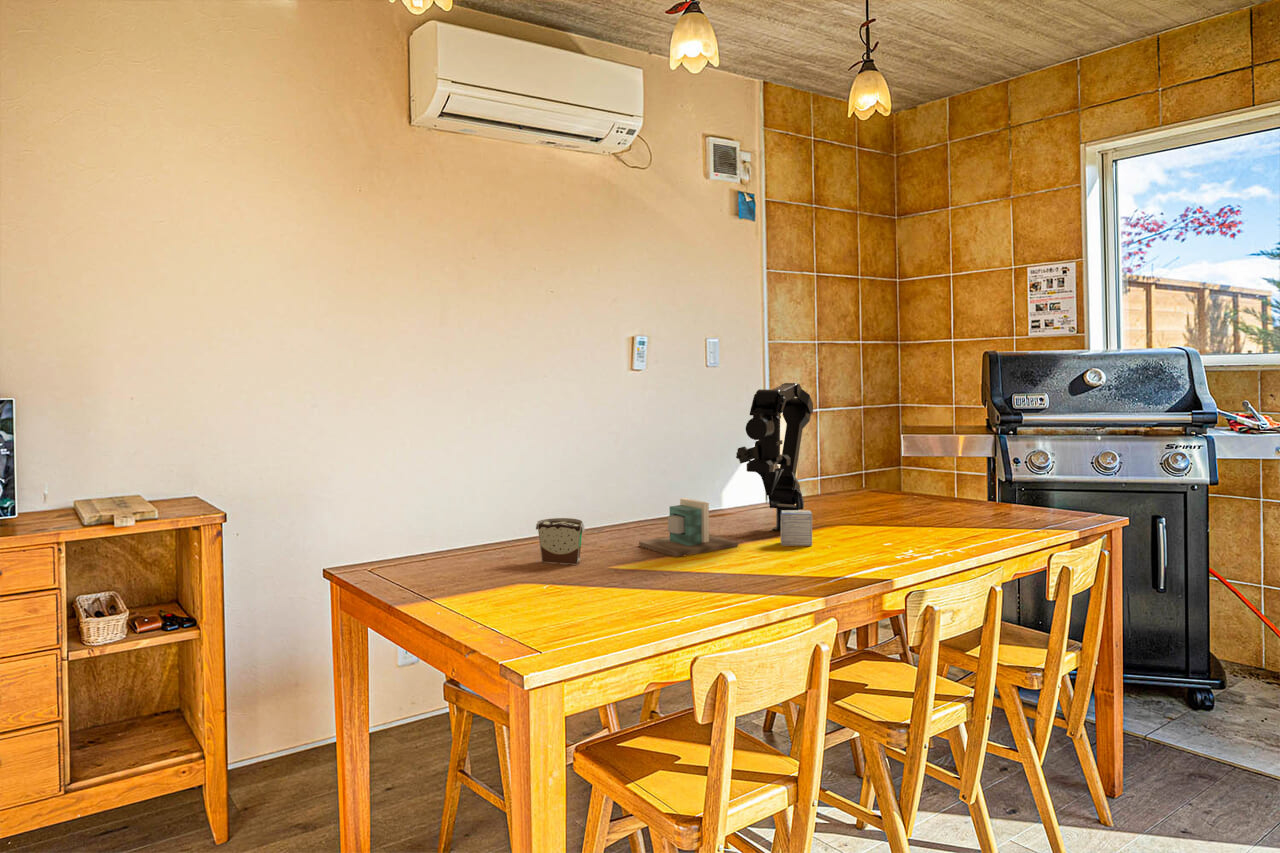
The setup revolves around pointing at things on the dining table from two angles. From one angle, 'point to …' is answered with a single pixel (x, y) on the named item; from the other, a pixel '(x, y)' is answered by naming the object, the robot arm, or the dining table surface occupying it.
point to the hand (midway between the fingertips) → (769, 495)
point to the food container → (560, 540)
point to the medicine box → (796, 528)
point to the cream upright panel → (678, 521)
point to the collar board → (687, 549)
